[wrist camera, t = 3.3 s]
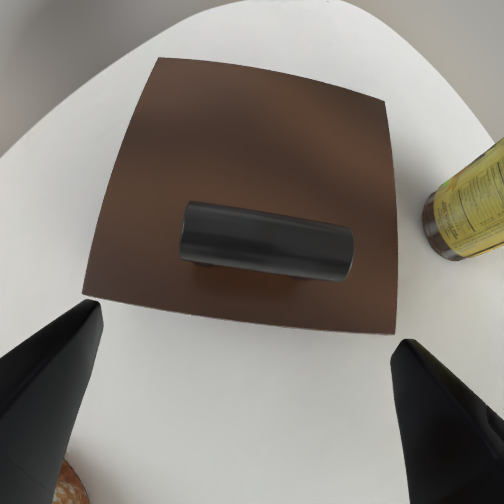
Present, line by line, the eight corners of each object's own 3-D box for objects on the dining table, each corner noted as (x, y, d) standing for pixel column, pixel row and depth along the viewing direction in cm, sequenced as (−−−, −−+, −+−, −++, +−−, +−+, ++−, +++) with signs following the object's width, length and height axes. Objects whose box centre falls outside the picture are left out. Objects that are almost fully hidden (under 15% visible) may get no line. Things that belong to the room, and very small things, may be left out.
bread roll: (49, 512, 15) (51, 579, 8) (-46, 443, 12) (-71, 505, 5) (110, 469, 18) (124, 547, 11) (2, 384, 14) (-33, 455, 7)
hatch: (386, 335, 14) (458, 331, 9) (88, 296, 12) (30, 276, 7) (379, 108, 17) (417, 56, 12) (159, 66, 16) (152, 0, 11)
